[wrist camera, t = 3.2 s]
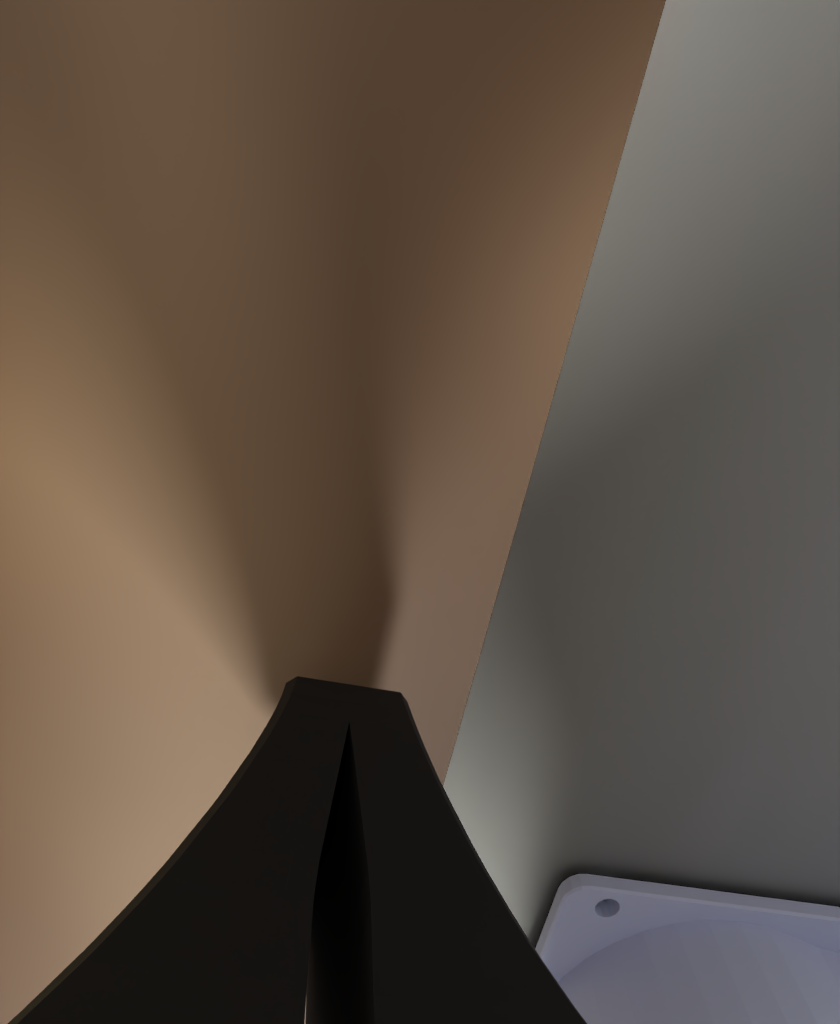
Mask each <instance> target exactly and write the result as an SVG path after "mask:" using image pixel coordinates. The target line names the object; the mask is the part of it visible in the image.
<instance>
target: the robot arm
mask: <svg viewBox="0 0 840 1024" xmlns="http://www.w3.org/2000/svg"><path fill="white" fill-rule="evenodd" d="M604 899H608V900H606V901H602V900H604ZM305 1006H306V1024H840V907H836V906H828V905H821V904H813V903H806V902H798V901H790V900H783V899H775V898H767V897H760V896H752V895H744V894H737V893H729V892H721V891H714V890H706V889H699V888H691V887H683V886H676V885H668V884H660V883H653V882H645V881H637V880H630V879H622V878H614V877H607V876H599V875H592V874H576V875H573V876H570V877H569V878H567V879H566V880H564V881H563V882H562V883H561V885H560V886H559V888H558V890H557V893H556V895H555V898H554V901H553V903H552V906H551V909H550V911H549V914H548V916H547V919H546V922H545V924H544V927H543V930H542V932H541V935H540V938H539V940H538V943H537V945H536V948H534V947H533V945H532V944H531V942H530V941H529V939H528V938H527V936H526V935H525V933H524V931H523V930H522V928H521V927H520V925H519V923H518V922H517V920H516V919H515V917H514V915H513V914H512V912H511V911H510V909H509V907H508V906H507V904H506V902H505V901H504V899H503V897H502V895H501V894H500V892H499V890H498V889H497V887H496V885H495V884H494V882H493V880H492V879H491V877H490V875H489V873H488V872H487V870H486V868H485V866H484V865H483V863H482V861H481V859H480V857H479V856H478V854H477V852H476V850H475V848H474V847H473V845H472V843H471V841H470V839H469V837H468V835H467V833H466V831H465V829H464V827H463V825H462V823H461V822H460V820H459V818H458V816H457V814H456V812H455V810H454V808H453V806H452V804H451V802H450V800H449V798H448V796H447V794H446V792H445V790H444V788H443V786H442V784H441V782H440V779H439V777H438V775H437V773H436V771H435V768H434V766H433V764H432V762H431V759H430V757H429V755H428V753H427V750H426V748H425V746H424V743H423V741H422V739H421V736H420V734H419V731H418V729H417V726H416V724H415V721H414V718H413V716H412V713H411V710H410V707H409V705H408V702H407V700H406V699H405V698H404V696H403V695H402V693H401V692H396V691H389V690H383V689H377V688H370V687H364V686H357V685H351V684H344V683H338V682H332V681H325V680H319V679H312V678H306V677H300V676H297V677H295V678H293V679H292V680H290V681H288V682H287V683H286V684H285V687H284V690H283V693H282V696H281V698H280V700H279V702H278V704H277V707H276V709H275V711H274V712H273V714H272V716H271V718H270V720H269V722H268V723H267V725H266V727H265V728H264V730H263V732H262V733H261V735H260V737H259V738H258V740H257V741H256V743H255V745H254V746H253V748H252V750H251V751H250V753H249V754H248V755H247V757H246V758H245V760H244V761H243V763H242V764H241V765H240V767H239V768H238V770H237V771H236V773H235V774H234V775H233V777H232V778H231V780H230V781H229V783H228V784H227V785H226V787H225V788H224V790H223V791H222V793H221V794H220V795H219V797H218V798H217V799H216V801H215V802H214V803H213V805H212V806H211V807H210V808H209V810H208V811H207V812H206V813H205V815H204V816H203V817H202V818H201V820H200V821H199V822H198V823H197V824H196V826H195V827H194V828H193V829H192V831H191V832H190V833H189V834H188V836H187V837H186V838H185V839H184V841H183V842H182V843H181V844H180V845H179V847H178V848H177V849H176V850H175V852H174V853H173V854H172V855H171V857H170V858H169V859H168V860H167V861H166V863H165V864H164V865H163V866H162V867H161V868H160V869H159V871H158V872H157V873H156V874H155V875H154V876H153V877H152V879H151V880H150V881H149V882H148V883H147V884H146V885H145V886H144V888H143V889H142V890H141V891H140V892H139V893H138V894H137V895H136V896H135V897H134V899H133V900H132V901H131V902H130V903H129V904H128V905H127V906H126V907H125V908H124V909H123V910H122V911H121V912H120V914H119V915H118V916H117V917H116V918H115V919H114V920H113V921H112V922H111V923H110V924H109V925H108V926H107V927H106V928H105V929H104V930H103V931H102V932H101V933H100V934H99V936H98V937H97V938H96V939H95V940H94V941H93V942H92V943H91V944H90V945H89V946H88V947H87V948H86V949H85V950H84V951H83V952H82V953H81V954H80V955H79V956H78V957H77V958H76V959H75V960H74V961H72V962H71V963H70V964H69V965H68V966H67V967H66V968H65V969H64V970H63V971H62V972H61V973H60V974H59V975H58V976H57V977H56V978H55V979H54V980H53V981H52V982H51V983H50V984H49V985H48V986H47V987H46V988H45V989H44V990H43V991H41V992H40V993H39V994H38V995H37V996H36V997H35V998H34V999H33V1000H32V1001H31V1002H30V1003H29V1004H28V1005H27V1006H26V1007H25V1008H24V1009H23V1010H22V1011H21V1012H20V1013H19V1014H17V1015H16V1016H15V1017H14V1018H13V1019H12V1020H11V1021H10V1022H9V1023H8V1024H304V1020H305Z"/></svg>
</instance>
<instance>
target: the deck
mask: <svg viewBox="0 0 840 1024" xmlns="http://www.w3.org/2000/svg"><path fill="white" fill-rule="evenodd" d="M665 1H666V0H0V1024H8V1023H9V1022H10V1021H11V1020H12V1019H13V1018H14V1017H15V1016H16V1015H17V1014H19V1013H20V1012H21V1011H22V1010H23V1009H24V1008H25V1007H26V1006H27V1005H28V1004H29V1003H30V1002H31V1001H32V1000H33V999H34V998H35V997H36V996H37V995H38V994H39V993H40V992H41V991H43V990H44V989H45V988H46V987H47V986H48V985H49V984H50V983H51V982H52V981H53V980H54V979H55V978H56V977H57V976H58V975H59V974H60V973H61V972H62V971H63V970H64V969H65V968H66V967H67V966H68V965H69V964H70V963H71V962H72V961H74V960H75V959H76V958H77V957H78V956H79V955H80V954H81V953H82V952H83V951H84V950H85V949H86V948H87V947H88V946H89V945H90V944H91V943H92V942H93V941H94V940H95V939H96V938H97V937H98V936H99V934H100V933H101V932H102V931H103V930H104V929H105V928H106V927H107V926H108V925H109V924H110V923H111V922H112V921H113V920H114V919H115V918H116V917H117V916H118V915H119V914H120V912H121V911H122V910H123V909H124V908H125V907H126V906H127V905H128V904H129V903H130V902H131V901H132V900H133V899H134V897H135V896H136V895H137V894H138V893H139V892H140V891H141V890H142V889H143V888H144V886H145V885H146V884H147V883H148V882H149V881H150V880H151V879H152V877H153V876H154V875H155V874H156V873H157V872H158V871H159V869H160V868H161V867H162V866H163V865H164V864H165V863H166V861H167V860H168V859H169V858H170V857H171V855H172V854H173V853H174V852H175V850H176V849H177V848H178V847H179V845H180V844H181V843H182V842H183V841H184V839H185V838H186V837H187V836H188V834H189V833H190V832H191V831H192V829H193V828H194V827H195V826H196V824H197V823H198V822H199V821H200V820H201V818H202V817H203V816H204V815H205V813H206V812H207V811H208V810H209V808H210V807H211V806H212V805H213V803H214V802H215V801H216V799H217V798H218V797H219V795H220V794H221V793H222V791H223V790H224V788H225V787H226V785H227V784H228V783H229V781H230V780H231V778H232V777H233V775H234V774H235V773H236V771H237V770H238V768H239V767H240V765H241V764H242V763H243V761H244V760H245V758H246V757H247V755H248V754H249V753H250V751H251V750H252V748H253V746H254V745H255V743H256V741H257V740H258V738H259V737H260V735H261V733H262V732H263V730H264V728H265V727H266V725H267V723H268V722H269V720H270V718H271V716H272V714H273V712H274V711H275V709H276V707H277V704H278V702H279V700H280V698H281V696H282V693H283V690H284V687H285V684H286V683H287V682H288V681H290V680H292V679H293V678H295V677H297V676H300V677H306V678H312V679H319V680H325V681H332V682H338V683H344V684H351V685H357V686H364V687H370V688H377V689H383V690H389V691H396V692H401V693H402V695H403V696H404V698H405V699H406V700H407V702H408V705H409V707H410V710H411V713H412V716H413V718H414V721H415V724H416V726H417V729H418V731H419V734H420V736H421V739H422V741H423V743H424V746H425V748H426V750H427V753H428V755H429V757H430V759H431V762H432V764H433V766H434V768H435V771H436V773H437V775H438V777H439V779H440V782H441V784H442V786H443V784H444V781H445V777H446V774H447V770H448V766H449V763H450V759H451V756H452V752H453V749H454V745H455V742H456V738H457V735H458V731H459V728H460V724H461V721H462V717H463V714H464V710H465V706H466V703H467V699H468V696H469V692H470V689H471V685H472V682H473V678H474V675H475V671H476V668H477V664H478V661H479V657H480V654H481V650H482V647H483V643H484V639H485V636H486V632H487V629H488V625H489V622H490V618H491V615H492V611H493V608H494V604H495V601H496V597H497V594H498V590H499V587H500V583H501V579H502V576H503V572H504V569H505V565H506V562H507V558H508V555H509V551H510V548H511V544H512V541H513V537H514V534H515V530H516V527H517V523H518V519H519V516H520V512H521V509H522V505H523V502H524V498H525V495H526V491H527V488H528V484H529V481H530V477H531V474H532V470H533V467H534V463H535V459H536V456H537V452H538V449H539V445H540V442H541V438H542V435H543V431H544V428H545V424H546V421H547V417H548V414H549V410H550V407H551V403H552V400H553V396H554V392H555V389H556V385H557V382H558V378H559V375H560V371H561V368H562V364H563V361H564V357H565V354H566V350H567V347H568V343H569V340H570V336H571V332H572V329H573V325H574V322H575V318H576V315H577V311H578V308H579V304H580V301H581V297H582V294H583V290H584V287H585V283H586V280H587V276H588V272H589V269H590V265H591V262H592V258H593V255H594V251H595V248H596V244H597V241H598V237H599V234H600V230H601V227H602V223H603V220H604V216H605V213H606V209H607V205H608V202H609V198H610V195H611V191H612V188H613V184H614V181H615V177H616V174H617V170H618V167H619V163H620V160H621V156H622V153H623V149H624V145H625V142H626V138H627V135H628V131H629V128H630V124H631V121H632V117H633V114H634V110H635V107H636V103H637V100H638V96H639V93H640V89H641V85H642V82H643V78H644V75H645V71H646V68H647V64H648V61H649V57H650V54H651V50H652V47H653V43H654V40H655V36H656V33H657V29H658V25H659V22H660V18H661V15H662V11H663V8H664V4H665ZM304 1024H306V1006H305V1020H304Z"/></svg>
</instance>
